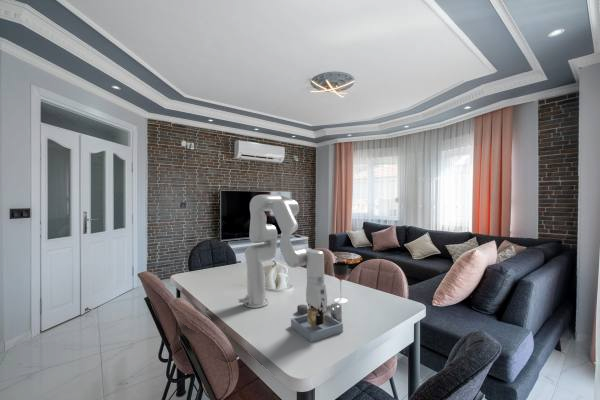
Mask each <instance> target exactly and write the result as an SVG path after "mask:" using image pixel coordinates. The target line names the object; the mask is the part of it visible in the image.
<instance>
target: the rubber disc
mask: <svg viewBox="0 0 600 400" xmlns="http://www.w3.org/2000/svg"><path fill="white" fill-rule="evenodd" d="M296 308H297V314H298V315H301V314H302V315H301V316H303V315H307V314H308V310H307V309H308V304H298V305H297V307H296Z"/></svg>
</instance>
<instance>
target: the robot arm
mask: <svg viewBox="0 0 600 400" xmlns="http://www.w3.org/2000/svg"><path fill="white" fill-rule="evenodd" d="M249 212H250V221H249V232H248V233H249V234H248V235H249V241H250V242H251V243H253V244H252V245H249V246H248V247H247V248H246V249H245V250H244V257H245V264H246V279H247V280H246V281H247V282H246V285H247V286H246V288H247V294H246V295H245V296H244V297H243V298H239V299H238V301H237V302H238V303H239V304H241V303H242V304H244V306H245V307H247V308H252V309H258V308H262V307H265V306H267V305H268V304H269V300H268V299H267V298H266V270H265V267H264V266H263V264H262V263H263V262H266V261H271V260H273V259H274V258H275V257H276V253H277V245H278V229H277V227H276V226H275V225H273V224H272V223H271V224H270V223H267V214H266V213H265V212H272V214H273V216H274V219H275V220H276V223H277V225H278V227H279V229H280V231H281V236H280V239H279V248H280V249H279V250H280V253H281V255H282V257H283V259H284V261H285V263H286V265H287V266H288V267H290V268H298V267H303V266H306V288H305V291H306V292H305V299H306V300H305V302H306V303H307V304H306V305H307V308H308V309H309V308H313V307H315V308H316V311H317V315H316V325H320V324H323V315H324V313H325V314H326V313H327V312H328V309H327V307H328V293H327V286H326V283H325V254H324V252H323V251H322V250H318V249H312V247H302V248H301V247H300V248H297V249H296V248H295V249H294V246H293V244H292V242H291V236H292V234H293V233H294V232H296V231H297V230H298V228H299V224H298V221H297V218H296V217H295V216H296V215H298V214H299V212H300V205H299V203H298V202H297V201H296V200H295V199H293V198H289V197H286V196H284V195H281V194H257V195H255V196H253V197H252V198H251V200H250V202H249ZM258 243H259V244H258ZM320 306H321V307H320ZM319 309H321V311H320V312H319Z"/></svg>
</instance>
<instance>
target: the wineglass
mask: <svg viewBox="0 0 600 400" xmlns="http://www.w3.org/2000/svg"><path fill="white" fill-rule="evenodd" d="M332 267H333V268H332V269H333V270H332V271H333V275H334V277H335V278H337V279H338V280H339V297H338V298H337V297H336V298H335V299H334V300H333V301H334V302H335V303H336V304H346V303H348V302H349V301H348V299H346V298H344V297H342V295H343V293H342V281H343V280H345V279H346V278H347V276H348V272H349V271H348V270H349V264H348V263H346V262H339V261H337V262H333V263H332Z"/></svg>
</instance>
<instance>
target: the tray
mask: <svg viewBox="0 0 600 400" xmlns="http://www.w3.org/2000/svg"><path fill="white" fill-rule="evenodd" d="M343 325H344V324H343V323H342V322H341V323H340V322H339V321H337V320H335V319H334V318H332V317H331V315H328V314H327V313H325V324H322V325H318V326H315V327H313V326H311V325H310V324H309V323H308V313H307V314H303V315H300V316H297V317H293V318H290V327H291V328H292V329H294V330H295V331H296V332H298V334H300V335H301V336H302V337H304V339H306V340H308V341H309V342H310V343H313V342H316V341H319V340H323V339H325V338H328V337H333V336H334V335H337V334H340V333H343V332H344V326H343Z"/></svg>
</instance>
